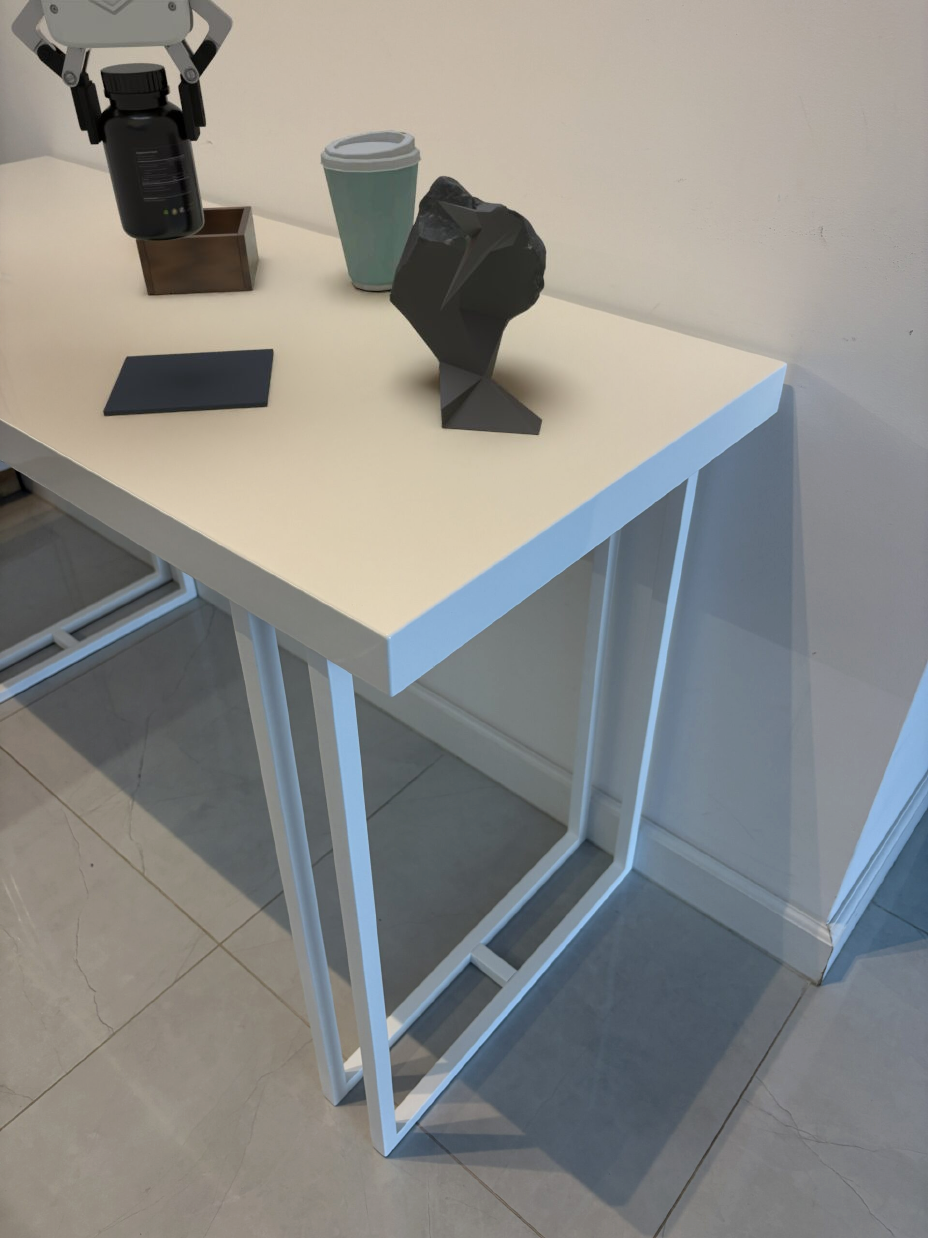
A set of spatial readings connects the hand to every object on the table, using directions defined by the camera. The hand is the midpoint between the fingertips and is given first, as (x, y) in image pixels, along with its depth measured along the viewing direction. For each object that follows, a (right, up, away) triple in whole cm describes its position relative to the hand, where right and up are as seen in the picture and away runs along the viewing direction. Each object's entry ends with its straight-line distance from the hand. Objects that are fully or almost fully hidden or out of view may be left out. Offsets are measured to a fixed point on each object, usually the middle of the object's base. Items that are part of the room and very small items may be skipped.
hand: (146, 136), depth 74 cm
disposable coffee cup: (+15, 0, +33) cm, 36 cm away
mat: (0, -17, +12) cm, 20 cm away
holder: (-5, +2, +35) cm, 35 cm away
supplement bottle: (0, -6, +5) cm, 7 cm away
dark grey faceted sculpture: (+26, -18, +10) cm, 33 cm away
